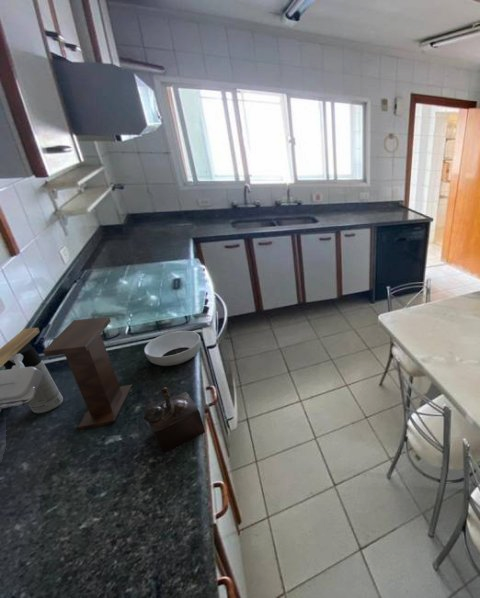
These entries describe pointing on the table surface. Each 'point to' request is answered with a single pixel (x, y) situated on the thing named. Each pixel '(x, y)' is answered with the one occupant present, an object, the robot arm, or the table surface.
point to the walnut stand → (91, 370)
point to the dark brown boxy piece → (174, 421)
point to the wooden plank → (16, 344)
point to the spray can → (47, 389)
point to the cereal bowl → (173, 347)
